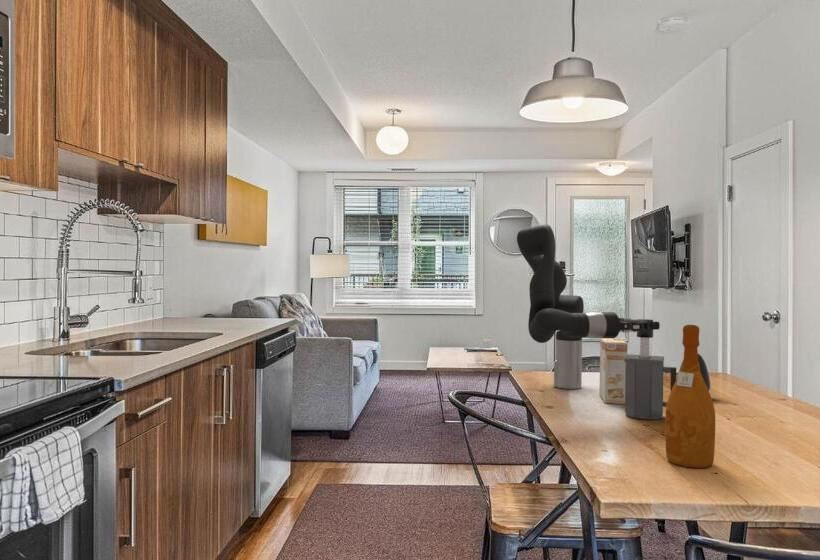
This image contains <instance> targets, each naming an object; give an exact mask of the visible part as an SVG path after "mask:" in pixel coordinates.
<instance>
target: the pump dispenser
mask: <svg viewBox="0 0 820 560" xmlns="http://www.w3.org/2000/svg"><path fill="white" fill-rule="evenodd" d="M698 362H699V365H700V372H701V374H702V377H703V379H704V381H705V384H706V386H707V388H708V390H709V391H710V390H711V379H710V374H709V371H708V367H707V364H706V362H705V359H704V357H703V356H702V355H701V354H700V353H698ZM682 363H683V360H682V361H681V364H680V367H679V371H678V374H679V372H680V370H681V365H682ZM678 374H677V375H678Z"/></svg>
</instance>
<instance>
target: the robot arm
mask: <svg viewBox="0 0 820 560" xmlns="http://www.w3.org/2000/svg"><path fill="white" fill-rule="evenodd" d="M516 243H517V246H518V250H519V251H520V253H521V255H522V257H523V258H524V260H525V261H526V262H527V263H528V265H529V267H530V269H531V270H532V271H533V275H532V276H531V279H530V282H529V303H530V307H529V314H528V324H527V325H528V333H529V336H530V337H531V339H532V340H534V341H535V342H537V343H538V344H539V343H540V344H544V343H547V342H549V341H550V340H552V338H553V336H554V335H555V359H554V361H553V367H554V368H553V387H554V388H560V389H564V390H565V389H566V390H567V389H568V390H578V389H581V388H582V387H583V386H582V383H583V382H582V379H583V378H582V376H583V375H582V373H583V370H582V369H583V368H582V367H583V365H582V364H583V359H582V358H583V357H582V356H583V338H584V339H585V338H586V339H594V340H595V339H600V338H617V337H618V336H619V333H625V334H626V333H631V332H632V333H635V332H636V333H637V332H639V331H649V330H653V331H654V330H656V331H657V330H660V322H659V321H653V322H648V321H639V320H637V319H635V318H634V319H632V318H629V317H628V318H625V317H619V316H618V314H617V313H615V312H614V311H589V312H588V311H587V312H584V311H585V310H584V309H585V308H584V306H585V305H584V304H585V303H584V300H583V297H582V296H580V295H573V294H572V295H571V294H570V295H563V294H562V293H563V291H564V290H565V288H566V287H567V283H568V279H567V275H566V273H565V271H564V268H563V267H562V265H561V264H560V263H559V262H558V261H556V238H555V234H554V230H553V228H552V227H551V226H550V225H549V224H544V223H543V224H539V225H534V226H532V227H526V228H524V229H521V230H520V231H518V232H517V234H516Z"/></svg>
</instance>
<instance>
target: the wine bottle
mask: <svg viewBox="0 0 820 560" xmlns="http://www.w3.org/2000/svg"><path fill="white" fill-rule="evenodd" d="M681 344H682V345H683V347H684V348H683V360H682V361H683V363H682V362H681V364H682V365H681V364H680V367H681V370H680V369H679V370H680V372H679V371H678V373H679V374H677V377H676V382H675V384H674V386H673V388H672V390H671V389H670V392H669V396H668V399H667V401H666V402H667V405H666V407H665V417H664V418H665V422H664V423H665V427H664V428H665V429H664V430H665V435H664V436H665V439H664V440H665V455H666V456H665V457H666V459H667V461H669V462H670V463H673V464H675V465H677V466H680V467H686V468H690V469H691V468H692V469H703V468H704V469H705V468H709V467H711V466H712V465H713V464H714V460H715V447H716V410H715V406H714V403H713V398H712V395H711V393H710V389H709V390H708V388H707V386H706V384H705V381H704V379H703V377H702V374H701V372H700V365H699V362H698V354H699V351H698V347H699V346H700V327H699V326H698V325H695V324H686V325H684V326H683V328H682V343H681Z"/></svg>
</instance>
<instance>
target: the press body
mask: <svg viewBox="0 0 820 560" xmlns="http://www.w3.org/2000/svg"><path fill="white" fill-rule="evenodd" d="M625 362H626V374H625V404H624V413H625V416H626V417H628V418H631V419H634V420H635V419H636V420H640V421H641V420H642V421H660V420H663V418H664V408H666V405H667V401H665V400H664V373H665V372H667V373H670V391H671V390H672V388H673V386H674V384H675V382H676V380H677V367H675V366H664V364H665V363H664V362H665V356H663V355H661V356H660V355H649V358H640V354H629V353H627V356H626V357H625Z"/></svg>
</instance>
